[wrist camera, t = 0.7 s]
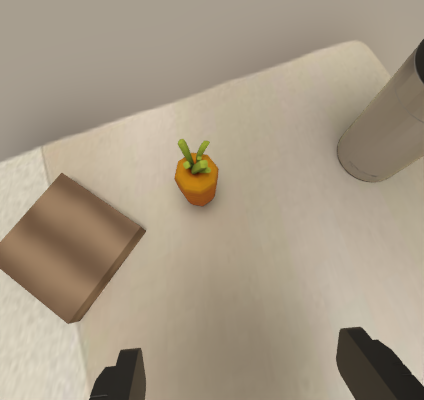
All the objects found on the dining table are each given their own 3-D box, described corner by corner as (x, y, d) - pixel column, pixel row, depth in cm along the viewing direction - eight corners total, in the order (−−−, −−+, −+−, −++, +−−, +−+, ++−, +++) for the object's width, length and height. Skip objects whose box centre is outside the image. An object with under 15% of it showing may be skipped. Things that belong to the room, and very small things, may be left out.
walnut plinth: (72, 180, 41) (61, 172, 38) (146, 231, 39) (140, 226, 36) (4, 259, 38) (-14, 257, 35) (79, 320, 35) (67, 323, 33)
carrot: (181, 188, 41) (162, 135, 26) (214, 181, 41) (212, 125, 27) (188, 220, 39) (171, 182, 25) (221, 213, 39) (225, 171, 25)
